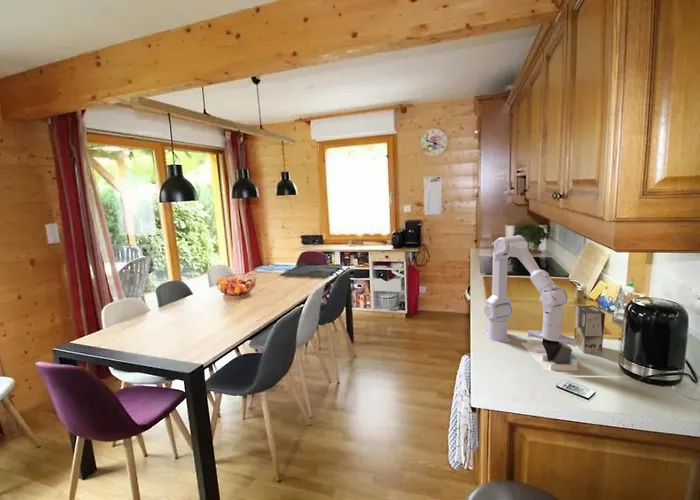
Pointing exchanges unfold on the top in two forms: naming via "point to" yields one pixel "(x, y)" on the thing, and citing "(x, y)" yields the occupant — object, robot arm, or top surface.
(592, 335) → the coffee box
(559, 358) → the plug
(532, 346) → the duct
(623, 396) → the top surface
